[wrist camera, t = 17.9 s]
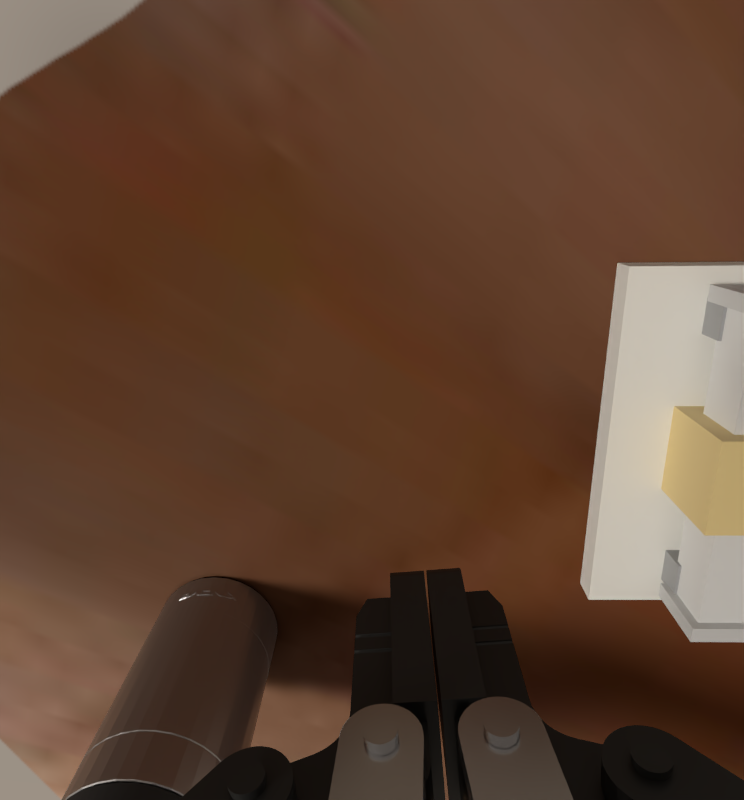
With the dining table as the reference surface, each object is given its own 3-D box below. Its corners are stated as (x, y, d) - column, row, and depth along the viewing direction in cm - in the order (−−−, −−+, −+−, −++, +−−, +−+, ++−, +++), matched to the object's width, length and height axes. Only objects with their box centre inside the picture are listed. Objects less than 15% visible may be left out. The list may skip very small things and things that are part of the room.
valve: (766, 583, 46) (866, 686, 37) (580, 583, 47) (631, 685, 37) (840, 260, 39) (992, 283, 29) (617, 262, 39) (694, 285, 29)
